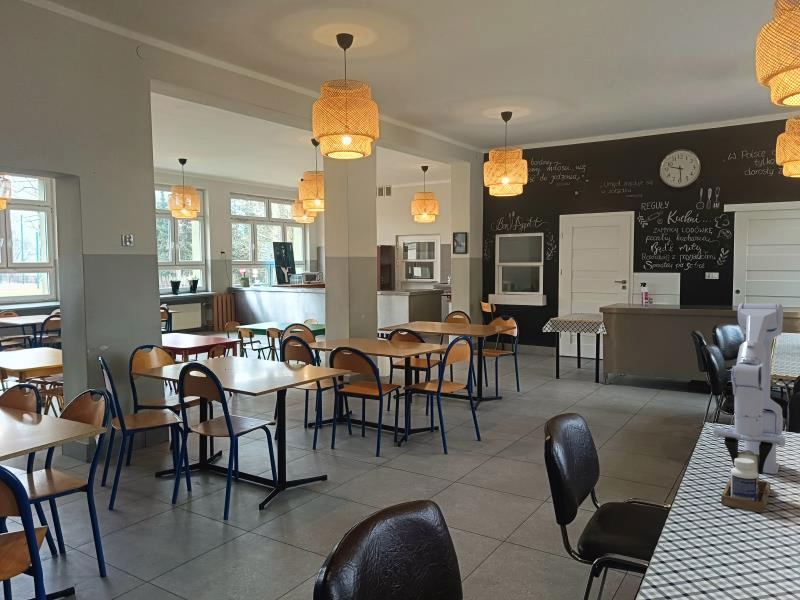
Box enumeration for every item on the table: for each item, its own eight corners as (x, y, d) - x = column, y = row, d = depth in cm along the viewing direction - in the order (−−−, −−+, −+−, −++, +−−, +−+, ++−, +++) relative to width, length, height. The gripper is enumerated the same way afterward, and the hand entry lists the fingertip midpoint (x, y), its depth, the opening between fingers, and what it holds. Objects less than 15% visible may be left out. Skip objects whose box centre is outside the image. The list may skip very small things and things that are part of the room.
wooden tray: (731, 483, 145) (731, 475, 145) (770, 490, 140) (770, 482, 140) (721, 504, 132) (721, 495, 132) (763, 512, 127) (763, 503, 127)
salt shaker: (736, 479, 138) (736, 451, 138) (739, 474, 142) (739, 446, 142) (757, 483, 136) (757, 454, 135) (760, 478, 139) (760, 449, 139)
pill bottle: (762, 507, 130) (762, 464, 129) (735, 506, 131) (735, 463, 130) (752, 498, 135) (752, 457, 135) (727, 497, 136) (727, 456, 136)
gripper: (711, 414, 139) (711, 470, 140) (783, 422, 131) (783, 481, 131) (716, 408, 145) (716, 462, 146) (785, 415, 136) (785, 473, 137)
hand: (748, 471), depth 139 cm, fingers closed on salt shaker, 4 cm apart
